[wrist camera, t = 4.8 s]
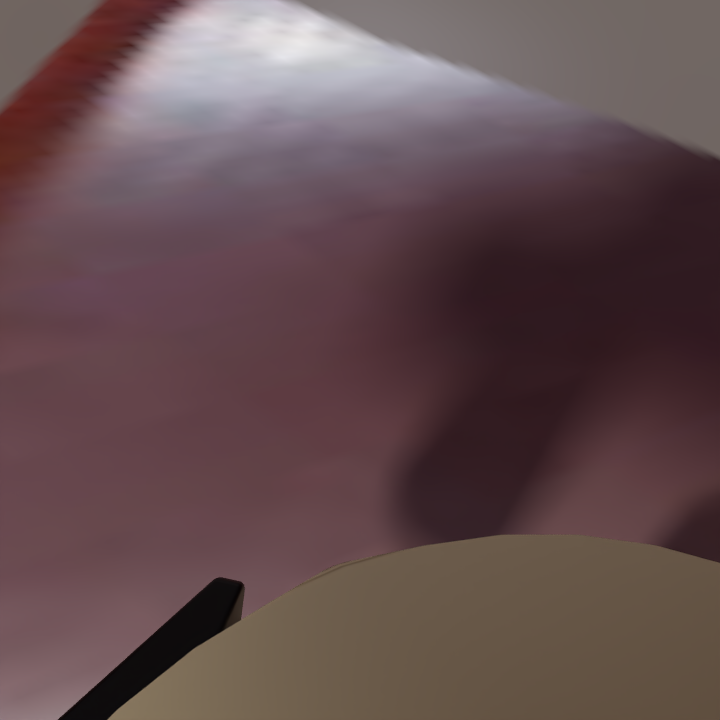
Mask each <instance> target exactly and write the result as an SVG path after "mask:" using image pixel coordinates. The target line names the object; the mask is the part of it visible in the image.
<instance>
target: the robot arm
mask: <svg viewBox="0 0 720 720" xmlns="http://www.w3.org/2000/svg"><path fill="white" fill-rule="evenodd" d="M244 590H245V587H244V584H243V583H242V582H240V581H236V580H231V579H227V578H222V577H219V578H216V579H214V580H213V581H212V582H210V583H209V584H208V585H207V586H206V587H205V588H204V589H203V590H202V591H200V592H199V593H198V594H197V595H196V596H195V597H194V598H193V599H192V600H190V601H189V602H188V603H187V604H186V605H185V606H184V607H183V608H182V609H180V610H179V611H178V612H177V613H176V614H175V615H174V616H173V617H172V618H170V619H169V620H168V621H167V622H166V623H165V624H164V625H163V626H161V627H160V628H159V629H158V630H157V631H156V632H155V633H154V634H153V635H151V636H150V637H149V638H148V639H147V640H146V641H145V642H144V643H143V644H141V645H140V646H139V647H138V648H137V649H136V650H135V651H134V652H133V653H131V654H130V655H129V656H128V657H127V658H126V659H125V660H124V661H123V662H121V663H120V664H119V665H118V666H117V667H116V668H115V669H114V670H113V671H111V672H110V673H109V674H108V675H107V676H106V677H105V678H104V679H103V680H101V681H100V682H99V683H98V684H97V685H96V686H95V687H94V688H92V689H91V690H90V691H89V692H88V693H87V694H86V695H85V696H84V697H82V698H81V699H80V700H79V701H78V702H77V703H76V704H75V705H74V706H72V707H71V708H70V709H69V710H68V711H67V712H66V713H65V714H64V715H62V716H61V717H60V718H59V719H58V720H108V719H109V718H110V717H111V716H112V715H113V714H114V713H115V712H116V711H117V710H118V709H119V708H120V707H121V706H123V705H124V704H125V703H126V702H128V701H129V700H130V699H131V698H133V697H134V696H135V695H136V694H138V693H139V692H140V691H141V690H143V689H144V688H145V687H147V686H148V685H149V684H150V683H152V682H153V681H154V680H155V679H157V678H158V677H159V676H160V675H162V674H163V673H164V672H165V671H167V670H168V669H169V668H170V667H172V666H173V665H174V664H175V663H177V662H178V661H179V660H180V659H182V658H183V657H184V656H185V655H187V654H188V653H189V652H191V651H192V650H193V649H194V648H196V647H198V646H199V645H201V644H203V643H204V642H206V641H207V640H209V639H211V638H212V637H214V636H216V635H217V634H219V633H221V632H222V631H224V630H225V629H227V628H229V627H230V626H232V625H234V624H235V623H237V622H239V621H240V620H241V615H242V607H243V599H244Z"/></svg>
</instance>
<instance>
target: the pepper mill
mask: <svg viewBox="0 0 720 720" xmlns="http://www.w3.org/2000/svg"><path fill="white" fill-rule="evenodd" d="M108 720H720V563H718V562H714V561H711V560H707V559H703V558H700V557H696V556H693V555H689V554H685V553H682V552H678V551H674V550H671V549H667V548H663V547H660V546H656V545H649V544H642V543H635V542H627V541H620V540H613V539H606V538H598V537H591V536H584V535H496V536H489V537H482V538H475V539H468V540H460V541H453V542H446V543H439V544H432V545H425V546H420V547H415V548H410V549H406V550H401V551H396V552H391V553H387V554H382V555H377V556H372V557H368V558H363V559H358V560H353V561H349V562H345V563H341V564H338V565H335V566H333V567H330V568H328V569H326V570H324V571H322V572H320V573H319V574H317V575H315V576H314V577H312V578H310V579H309V580H307V581H305V582H304V583H302V584H300V585H298V586H297V587H295V588H293V589H292V590H290V591H288V592H287V593H285V594H283V595H281V596H280V597H278V598H276V599H275V600H273V601H271V602H270V603H268V604H266V605H265V606H263V607H261V608H260V609H258V610H257V611H255V612H253V613H252V614H250V615H248V616H247V617H245V618H243V619H242V620H240V621H239V622H237V623H235V624H234V625H232V626H230V627H229V628H227V629H225V630H224V631H222V632H221V633H219V634H217V635H216V636H214V637H212V638H211V639H209V640H207V641H206V642H204V643H203V644H201V645H199V646H198V647H196V648H194V649H193V650H192V651H191V652H189V653H188V654H187V655H185V656H184V657H183V658H182V659H180V660H179V661H178V662H177V663H175V664H174V665H173V666H172V667H170V668H169V669H168V670H167V671H165V672H164V673H163V674H162V675H160V676H159V677H158V678H157V679H155V680H154V681H153V682H152V683H150V684H149V685H148V686H147V687H145V688H144V689H143V690H141V691H140V692H139V693H138V694H136V695H135V696H134V697H133V698H131V699H130V700H129V701H128V702H126V703H125V704H124V705H123V706H121V707H120V708H119V709H118V710H117V711H116V712H115V713H114V714H113V715H112V716H111V717H110V718H109V719H108Z"/></svg>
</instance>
